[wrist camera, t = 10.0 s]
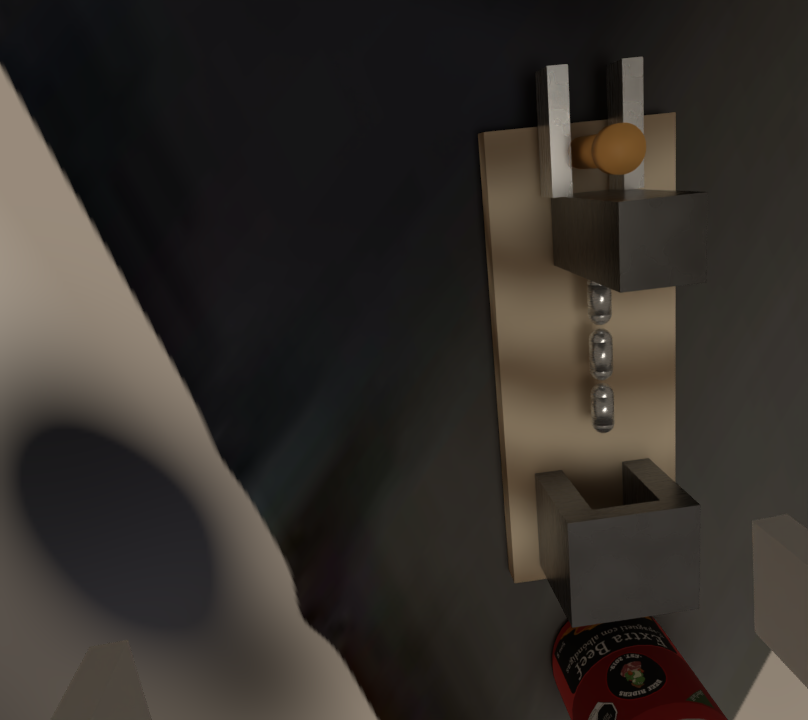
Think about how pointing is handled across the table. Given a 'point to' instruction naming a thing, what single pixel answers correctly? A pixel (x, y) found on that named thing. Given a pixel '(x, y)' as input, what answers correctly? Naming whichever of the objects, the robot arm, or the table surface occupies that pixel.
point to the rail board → (568, 341)
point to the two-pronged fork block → (614, 218)
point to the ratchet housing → (620, 547)
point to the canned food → (627, 674)
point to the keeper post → (610, 149)
